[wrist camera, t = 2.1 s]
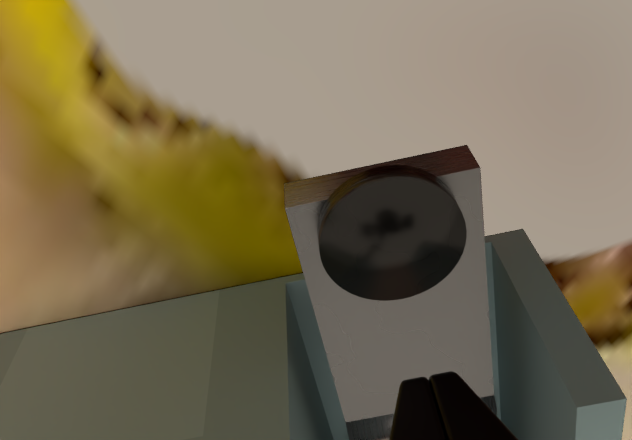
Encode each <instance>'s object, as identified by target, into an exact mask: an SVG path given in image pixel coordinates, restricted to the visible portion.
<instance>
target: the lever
mask: <svg viewBox="0 0 632 440" xmlns="http://www.w3.org/2000/svg"><path fill="white" fill-rule="evenodd" d="M481 190H482V189H481V173H480V167H479V165H478V163H477V161H476V160H475V158H474V156H473V155H472V153H471V151H470V150H469V148H468V146H467V145H464V146H460V147H455V148H450V149H445V150H441V151H436V152H432V153H426V154H422V155H417V156H413V157H408V158H403V159H398V160H394V161H389V162H384V163H379V164H374V165H370V166H365V167H361V168H355V169H351V170H346V171H342V172H336V173H332V174H327V175H322V176H318V177H313V178H308V179H303V180H299V181H294V182H289V183H284V193H285V210H286V214H287V217H288V221H289V224H290V228H291V231H292V235H293V238H294V242H295V245H296V249H297V253H298V256H299V260H300V263H301V267H302V270H303V274H304V277H305V281H306V284H307V288H308V291H309V295H310V299H311V302H312V306H313V309H314V313H315V316H316V320H317V323H318V327H319V330H320V334H321V338H322V341H323V345H324V348H325V352H326V355H327V359H328V362H329V366H330V369H331V373H332V376H333V380H334V384H335V387H336V391H337V394H338V398H339V401H340V405H341V408H342V412H343V415H344V419H345V422H346V427H347V432H348V436H349V440H389V438H390V433H391V428H392V422H393V417H394V412H395V407H396V402H397V397H398V392H399V387H400V384H401V382H402V381H403V380H407V379H412V378H418V377H426V378H427V379H428V381H429V377H430V376H431V375H433V374H439V373H444V372H449V371H453V372H456V373H457V374H458V375H459V376H460V377H461V378H462V379H463V380H464V381H465V382H466V383H467V384H468V386H469V387H470V388H471V389H472V390H473V391H474V392H475V393H476V394H477V395H478V396H479V397H480V399H481V400H482V401H483V402H484V403H485V404H486V405H487V406H488V407H489V408H490V409H491V410H492V412H493V413H494V414H495V415H496V416H497V407H496V401H495V397H494V384H493V368H492V352H491V335H490V319H489V303H488V286H487V270H486V254H485V238H484V221H483V207H482V191H481Z"/></svg>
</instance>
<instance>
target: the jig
mask: <svg viewBox="0 0 632 440" xmlns="http://www.w3.org/2000/svg"><path fill="white" fill-rule="evenodd" d="M484 238H485V254H486V270H487V286H488V303H489V319H490V335H491V352H492V368H493V384H494V397H495V401H496V407H497V417H498V418H499V419H500V420H501V421H502V422H503V424H504V425H505V426H506V427H507V428H508V429H509V430H510V431H511V432H512V433H513V434H514V435H515V437H516V438H517V439H518V440H621V439H622V431H623V423H624V416H625V408H626V400H627V398H626V397H625V395H624V394H623V392H622V390H621V389H620V387H619V385H618V384H617V382H616V380H615V379H614V377H613V376H612V374H611V372H610V371H609V369H608V367H607V366H606V364H605V362H604V361H603V359H602V358H601V356H600V354H599V353H598V351H597V349H596V348H595V346H594V344H593V343H592V341H591V340H590V338H589V336H588V335H587V333H586V331H585V330H584V328H583V326H582V325H581V323H580V322H579V320H578V318H577V317H576V315H575V313H574V312H573V310H572V308H571V307H570V305H569V304H568V302H567V300H566V299H565V297H564V295H563V294H562V292H561V290H560V289H559V287H558V286H557V284H556V282H555V281H554V279H553V277H552V276H551V274H550V272H549V271H548V269H547V267H546V266H545V264H544V263H543V261H542V259H541V258H540V256H539V254H538V253H537V251H536V249H535V248H534V246H533V245H532V243H531V241H530V240H529V238H528V236H527V235H526V233H525V232H524V230H523V229H520V230H515V231H510V232H505V233H500V234H495V235H490V236H485V237H484ZM0 440H349V436H348V432H347V427H346V422H345V419H344V415H343V412H342V408H341V405H340V401H339V398H338V394H337V391H336V387H335V384H334V380H333V376H332V373H331V369H330V366H329V362H328V359H327V355H326V352H325V348H324V345H323V341H322V338H321V334H320V330H319V327H318V323H317V320H316V316H315V313H314V309H313V306H312V302H311V299H310V295H309V291H308V288H307V284H306V281H305V277H304V274H303V273H301V274H296V275H291V276H286V277H281V278H276V279H271V280H266V281H261V282H256V283H251V284H246V285H241V286H236V287H231V288H226V289H221V290H216V291H211V292H206V293H201V294H196V295H191V296H186V297H181V298H176V299H171V300H166V301H161V302H156V303H151V304H146V305H141V306H136V307H131V308H126V309H121V310H116V311H111V312H106V313H102V314H97V315H92V316H87V317H82V318H77V319H72V320H67V321H62V322H57V323H52V324H47V325H42V326H37V327H32V328H27V329H22V330H17V331H12V332H7V333H2V334H0Z"/></svg>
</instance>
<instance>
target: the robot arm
mask: <svg viewBox="0 0 632 440" xmlns="http://www.w3.org/2000/svg"><path fill="white" fill-rule="evenodd" d="M389 440H518V439H517V438H516V437H515V435H514V434H513V433H512V432H511V431H510V430H509V429H508V428H507V427H506V426H505V425H504V424H503V422H502V421H501V420H500V419H499V418H498V417H497V416H496V415H495V414H494V413H493V412H492V410H491V409H490V408H489V407H488V406H487V405H486V404H485V403H484V402H483V401H482V400H481V399H480V397H479V396H478V395H477V394H476V393H475V392H474V391H473V390H472V389H471V388H470V387H469V386H468V384H467V383H466V382H465V381H464V380H463V379H462V378H461V377H460V376H459V375H458V374H457V373H456V372H453V371H449V372H444V373H439V374H433V375H431V376H430V377H429V381H428V379H427V378H426V377H418V378H412V379H407V380H403V381H402V382H401V384H400V387H399V392H398V397H397V402H396V407H395V412H394V417H393V422H392V428H391V433H390V438H389Z"/></svg>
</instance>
